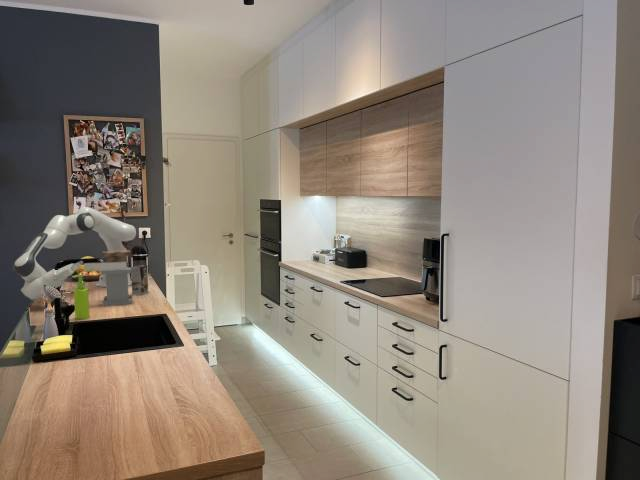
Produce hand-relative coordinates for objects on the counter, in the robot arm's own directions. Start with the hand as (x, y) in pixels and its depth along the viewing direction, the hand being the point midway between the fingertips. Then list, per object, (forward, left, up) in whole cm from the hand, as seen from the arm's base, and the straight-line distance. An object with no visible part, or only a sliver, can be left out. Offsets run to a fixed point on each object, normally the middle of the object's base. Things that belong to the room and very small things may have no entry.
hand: (81, 263), depth 253 cm
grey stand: (+11, +12, -22) cm, 27 cm away
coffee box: (+3, +36, -22) cm, 43 cm away
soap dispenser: (+21, -19, -22) cm, 36 cm away
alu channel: (+8, +8, -4) cm, 12 cm away
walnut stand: (+4, +19, -22) cm, 29 cm away
